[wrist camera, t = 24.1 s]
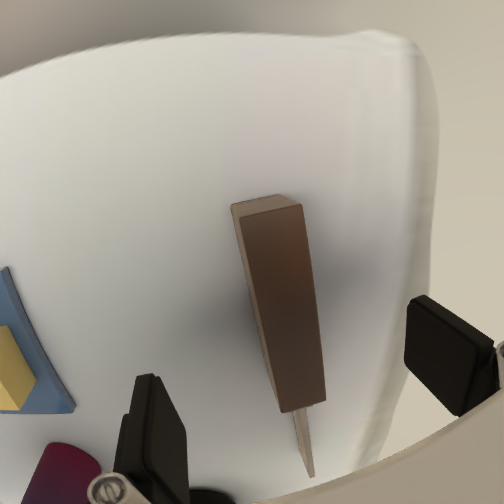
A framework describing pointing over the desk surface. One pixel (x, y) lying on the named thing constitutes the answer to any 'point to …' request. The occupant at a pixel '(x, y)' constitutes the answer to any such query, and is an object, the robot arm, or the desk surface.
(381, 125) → the desk surface
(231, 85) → the desk surface
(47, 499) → the cup
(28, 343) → the butter plate
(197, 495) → the beverage can
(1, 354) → the butter pat
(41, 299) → the desk surface
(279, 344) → the knife
